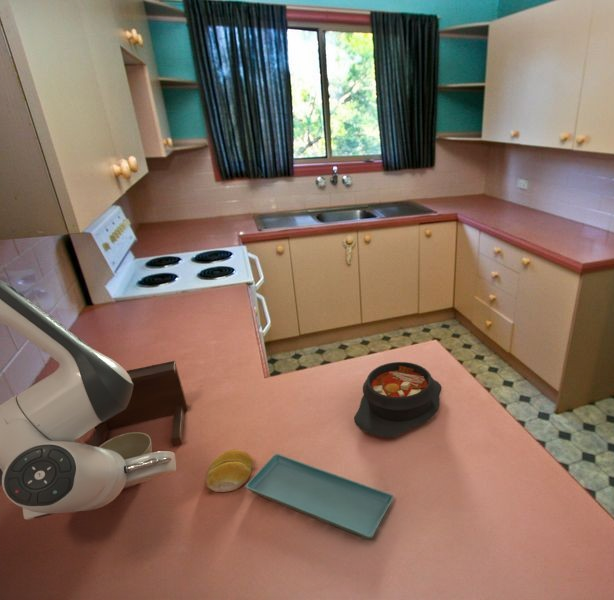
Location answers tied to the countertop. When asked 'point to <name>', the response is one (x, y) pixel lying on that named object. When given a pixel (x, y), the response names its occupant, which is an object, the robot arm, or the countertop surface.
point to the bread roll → (229, 471)
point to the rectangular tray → (321, 495)
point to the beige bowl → (129, 445)
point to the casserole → (397, 399)
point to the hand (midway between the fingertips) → (121, 480)
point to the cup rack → (150, 401)
